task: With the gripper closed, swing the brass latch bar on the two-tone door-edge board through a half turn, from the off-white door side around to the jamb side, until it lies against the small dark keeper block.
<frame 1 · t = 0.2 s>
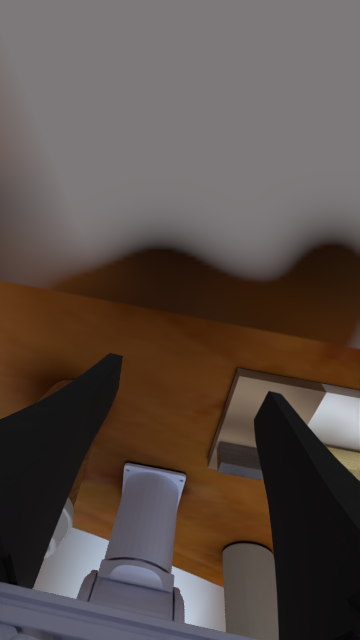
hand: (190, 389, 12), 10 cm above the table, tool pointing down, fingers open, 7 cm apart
travel mug: (247, 551, 39), on the table
keeper block: (236, 439, 27), resting on door edge board
latch bar: (332, 467, 24), point 3 cm above the table, hinge at 0.0°
disposable coffee cup: (78, 399, 27), on the table
door edge board: (292, 435, 26), on the table
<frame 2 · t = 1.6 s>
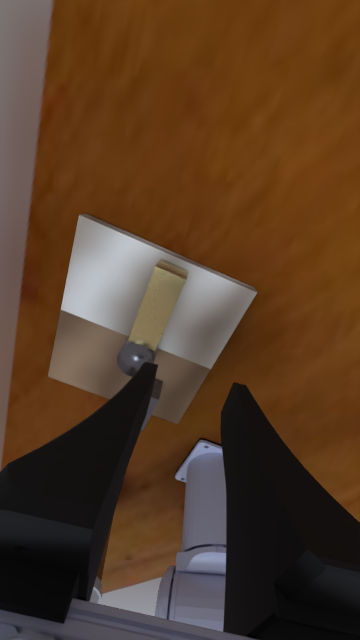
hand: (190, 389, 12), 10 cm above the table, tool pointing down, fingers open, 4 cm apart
keeper block: (150, 385, 25), resting on door edge board
latch bar: (150, 323, 18), point 3 cm above the table, hinge at 0.0°
disposable coffee cup: (98, 474, 33), on the table
door edge board: (146, 335, 22), on the table
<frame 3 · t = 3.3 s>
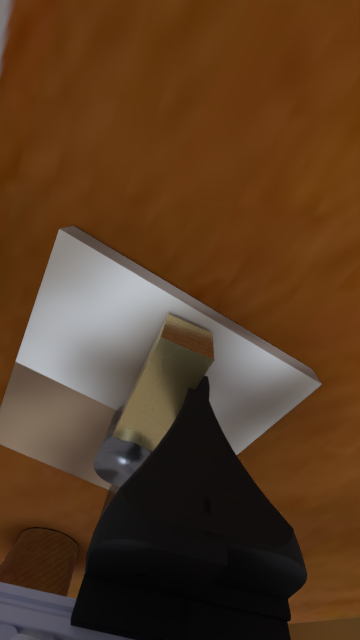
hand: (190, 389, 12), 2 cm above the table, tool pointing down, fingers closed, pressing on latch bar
latch bar: (149, 409, 12), point 3 cm above the table, hinge at 6.7°, touching gripper
disposable coffee cup: (51, 540, 26), on the table
door edge board: (141, 404, 15), on the table
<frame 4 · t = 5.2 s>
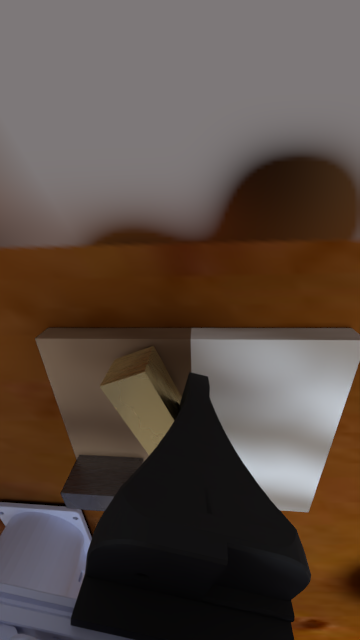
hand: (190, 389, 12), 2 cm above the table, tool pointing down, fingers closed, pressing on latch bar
keeper block: (118, 447, 18), resting on door edge board
latch bar: (168, 435, 12), point 3 cm above the table, hinge at 111.9°, touching gripper
door edge board: (193, 428, 16), on the table
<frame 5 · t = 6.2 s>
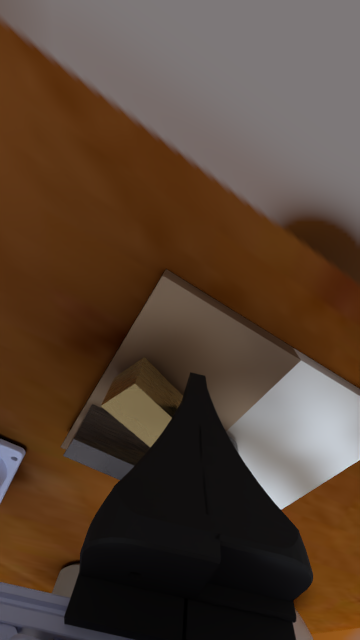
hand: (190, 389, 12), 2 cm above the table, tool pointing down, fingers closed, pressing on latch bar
travel mug: (95, 574, 28), on the table
keeper block: (125, 411, 16), resting on door edge board
lidded jar: (255, 591, 27), on the table
latch bar: (181, 438, 13), point 3 cm above the table, hinge at 161.0°, touching gripper
door edge board: (213, 426, 16), on the table
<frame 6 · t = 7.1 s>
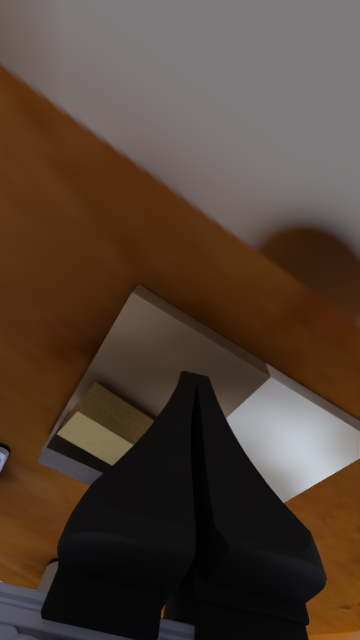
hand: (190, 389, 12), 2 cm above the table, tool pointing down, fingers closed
travel mug: (81, 570, 29), on the table
keeper block: (103, 418, 16), resting on door edge board
latch bar: (144, 454, 13), point 3 cm above the table, hinge at 172.7°
door edge board: (190, 435, 16), on the table
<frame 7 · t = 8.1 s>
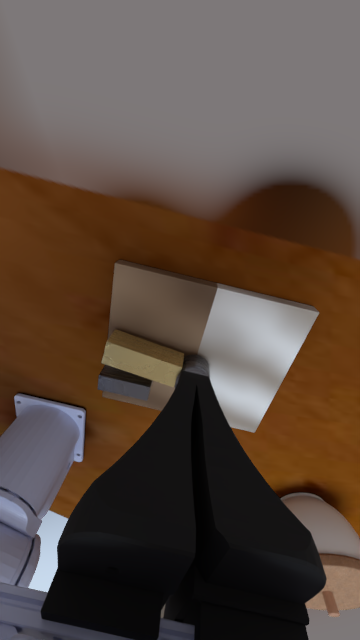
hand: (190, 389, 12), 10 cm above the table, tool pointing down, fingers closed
keeper block: (134, 362, 24), resting on door edge board
lidded jar: (299, 504, 32), on the table
latch bar: (158, 365, 20), point 3 cm above the table, hinge at 172.8°
door edge board: (194, 357, 23), on the table
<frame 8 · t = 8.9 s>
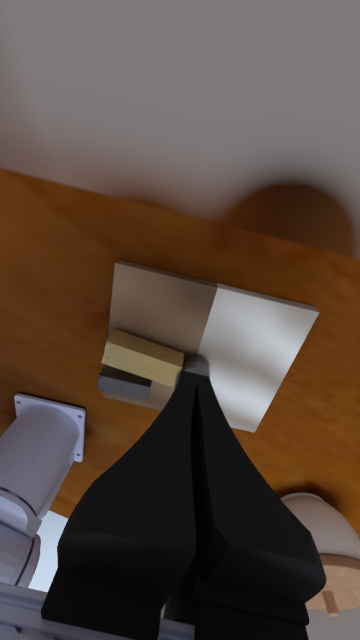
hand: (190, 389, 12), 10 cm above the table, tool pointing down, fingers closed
keeper block: (134, 362, 24), resting on door edge board
lidded jar: (299, 504, 32), on the table
latch bar: (158, 365, 20), point 3 cm above the table, hinge at 172.9°
door edge board: (194, 357, 23), on the table
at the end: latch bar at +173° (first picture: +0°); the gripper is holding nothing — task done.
